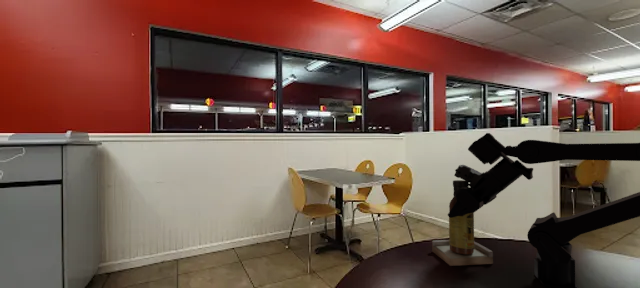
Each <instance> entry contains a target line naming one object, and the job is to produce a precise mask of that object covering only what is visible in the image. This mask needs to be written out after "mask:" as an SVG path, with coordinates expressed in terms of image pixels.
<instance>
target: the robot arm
mask: <svg viewBox="0 0 640 288" xmlns="http://www.w3.org/2000/svg"><path fill="white" fill-rule="evenodd" d="M467 150H468V151H469V152H470V153H471V154H472V155H473V156H474V157H475V158H476V159H478V161H480V162H481V163H482V164H483V165H486V164H489V165H490V166H491V165H493V164H494V165H493V166H492V167H491V168H490V169H488V170H487V171H485V172H480V171H478V170H476V169H474V168H472V167H470V166H468V165H465V164H460V165H458V167H457V168H456V169H454V171H455V173H454V177H456V178H457V179H461V180H464V181H467V182H469V184H468V185H469V186H468V187H463V188H460V189H459V190H458V191H457V192H456V193H455V196H456V200H457V201H456V203H455V205H454V206H453V208H452V209H451V210H450V212H448V213H447V217H448V218H449V217H450V218H452V217H456V216H461V215H465V214H469V213H474V214H475V213H476V212H478V210H480V209H481V208H483V207H484V206H485V205H487V204H489V203H491V202H492V201H494V200H495V199H496V198H497V195H499V194H500V193H501V192H503V191H505V189H507V188H508V187H509V186H510V185H512V184H513V183H514V182H515V181H517V180H518V179H520V177H522V176H523V177H524V178H525V179H527V180H529V181H531V180H532V179H533V178H534V176H533V171H534V167H528V166H525V165H524V164H526V165H534V164H535V165H536V164H542V163H551V162H559V161H567V160H568V161H612V162H613V161H617V162H618V161H619V162H620V161H621V162H623V161H624V162H625V161H627V162H628V161H629V162H630V161H631V162H640V142H626V143H625V142H620V143H619V142H615V143H612V142H611V143H610V142H608V143H603V142H601V143H562V142H554V141H548V140H547V141H546V140H539V139H527V140H523V141H521V142H520V143H518V144H517V145H513V146H512V145H507V146H504V145H503V144H502V143H501V142H500V141H499V140H497V139H496V138H495V136H493V134H491V133H490V132H486V133H485V134H484V135H483V136H482V135H481V137H479V138H478V139H476V140H474V141H473V142H472V143H471V144H470V145H469V147H468V148H467ZM510 157H512V158H517V159H516V160H513V159H512V158H510ZM499 159H500V160H499ZM497 161H498V162H497ZM496 162H497V163H496ZM495 163H496V164H495ZM523 163H524V164H523ZM639 217H640V191H638V192H635V193H633V194H630V195H627V196H624V197H622V198H619V199H616V200H613V201H609V202H607V203H604V204H601V205H597V206H595V207H593V208H589V209H587V210H583V211H581V212H578V213H575V214H573V215H570V216H562V217H557V214H556V212H551V213H550V214H548V215H546V216H544V217H536V219H535V221H534V222H533V223H532V225H531V226H530V228H529V229H528V230H527V231H528V232H527V235H526V236H527V240H528V243H529V244H530V245H531V246H532V247H534V248H535V249H536V250H537V251H536V257H534V258H533V267H534V268H533V270H534V271H533V274H534V276H535V277H536V278H537V279H538V281H539V282H540V283H541V284H542V285H543V286H545V287H549V288H580V287H578V285H577V284H576V259H575V258H574V257H572V253H573V252H572V251H573V250H572V249H573V245H572V244H571V243H570V242H571V241H572V240H574V239H576V238H578V237H579V236H581V235H584V234H587V233H591V232H593V231H596V230H600V229H603V228H607V227H611V226H612V225H616V224H619V223H622V222H626V221H629V220H632V219H633V220H634V219H635V218H639Z"/></svg>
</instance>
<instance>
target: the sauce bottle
mask: <svg viewBox="0 0 640 288" xmlns="http://www.w3.org/2000/svg"><path fill="white" fill-rule="evenodd" d="M468 184H470V183H469V182H467V181H465V180H463V179H461V180H458V179H457V180H452V186H453V197H452V199H451V200H450V202H449V206H448V208H449V212H450V210H451V209H452V208H453V206H454V205H455V203H456V201H457V200H456V196H455V193H456V192H457V191H458V190H459V189H460V188H463V187H470V186H469V185H468ZM449 212H448V213H449ZM474 215H475V212H474V213H469V214H465V215H461V216H456V217H452V218H450V217H449V216H448V224H449V225H448V229H449V230H448V235H449V236H448V237H449V239H448V240H449V244H450V250H451V251H452V252H454V253H457V254H463V255H469V254H472V253H473V252H474V241H475V223H474V222H475V217H474Z"/></svg>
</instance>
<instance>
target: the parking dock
mask: <svg viewBox="0 0 640 288" xmlns="http://www.w3.org/2000/svg"><path fill="white" fill-rule="evenodd" d="M431 245H432V250H431V251H432V253H434V255H436V256H437V257H438V258H440V259H441V260H442V261H444V262H445V263H446V264H447V265H448V266H450V267H452V266H453V267H454V266H455V267H456V266H473V265H493V264H494V253H493V252H494V251H492V250H491V249H489V248H488V247H485V246H484V245H482V244H480V243H478V242H476V241H475V240H474V252H473V253H472V254H469V255H463V254H457V253H454V252H452V251H451V250H450V244H449V239H443V240H442V239H440V240H439V239H437V240H436V239H435V240H432V241H431Z"/></svg>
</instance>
